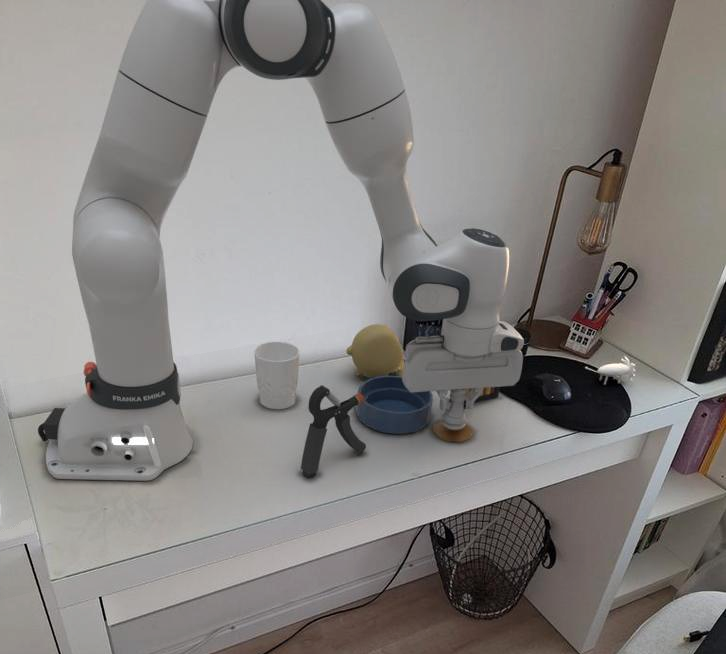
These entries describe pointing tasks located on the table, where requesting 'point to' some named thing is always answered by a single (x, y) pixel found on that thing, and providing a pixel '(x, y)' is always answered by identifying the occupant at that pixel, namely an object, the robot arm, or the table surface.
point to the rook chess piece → (455, 411)
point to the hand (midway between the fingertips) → (455, 408)
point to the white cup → (277, 374)
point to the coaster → (452, 433)
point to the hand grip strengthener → (320, 423)
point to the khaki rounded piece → (377, 352)
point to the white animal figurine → (616, 370)
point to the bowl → (393, 406)
